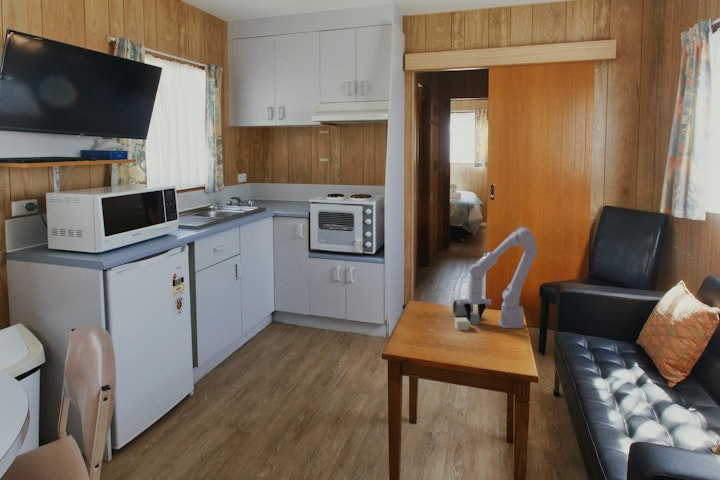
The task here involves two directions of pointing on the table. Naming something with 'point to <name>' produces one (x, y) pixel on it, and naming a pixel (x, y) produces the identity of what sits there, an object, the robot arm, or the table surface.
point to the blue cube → (474, 318)
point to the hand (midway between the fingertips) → (473, 319)
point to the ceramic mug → (460, 309)
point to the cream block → (461, 323)
